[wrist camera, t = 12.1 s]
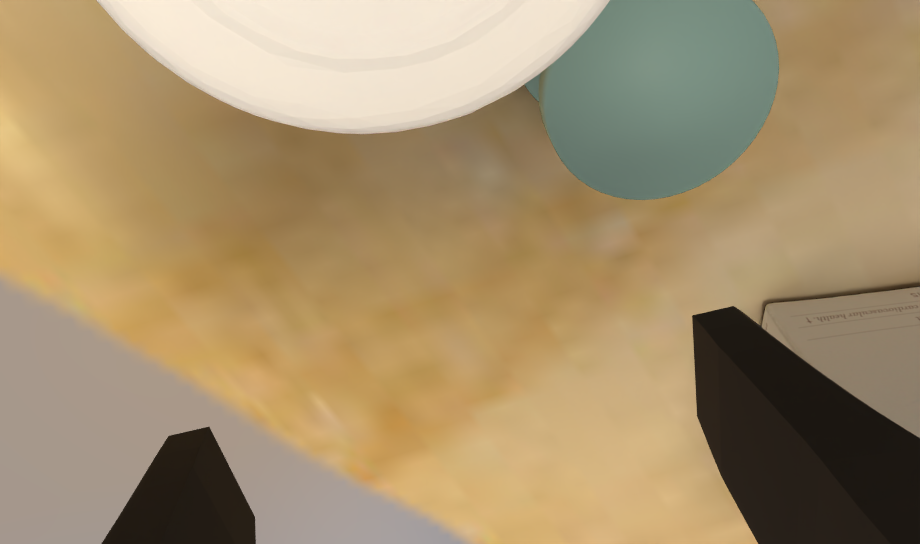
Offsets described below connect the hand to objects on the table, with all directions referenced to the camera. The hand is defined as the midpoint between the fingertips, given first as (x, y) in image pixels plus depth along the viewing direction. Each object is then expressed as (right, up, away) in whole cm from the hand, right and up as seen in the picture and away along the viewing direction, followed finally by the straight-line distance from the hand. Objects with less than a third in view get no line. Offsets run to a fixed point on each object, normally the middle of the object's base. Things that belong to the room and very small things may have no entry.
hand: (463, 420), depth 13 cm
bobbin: (+3, +8, +8) cm, 12 cm away
